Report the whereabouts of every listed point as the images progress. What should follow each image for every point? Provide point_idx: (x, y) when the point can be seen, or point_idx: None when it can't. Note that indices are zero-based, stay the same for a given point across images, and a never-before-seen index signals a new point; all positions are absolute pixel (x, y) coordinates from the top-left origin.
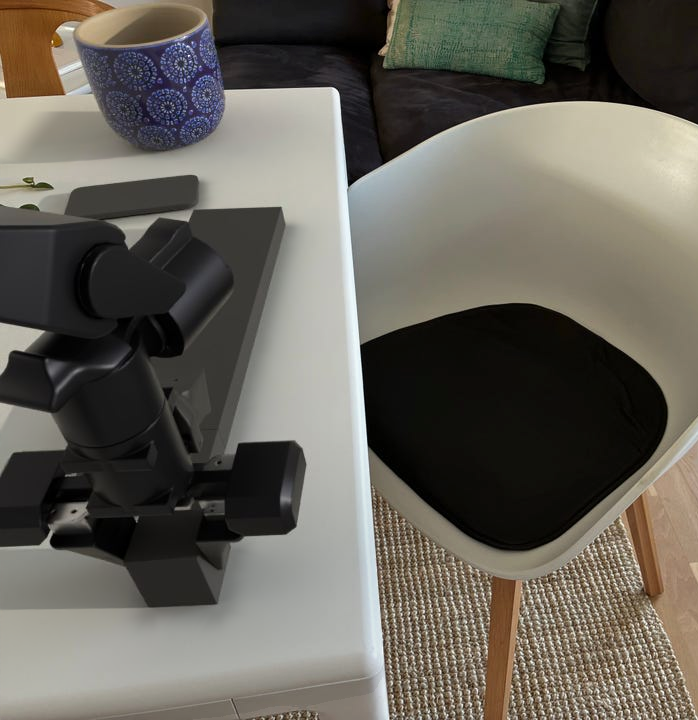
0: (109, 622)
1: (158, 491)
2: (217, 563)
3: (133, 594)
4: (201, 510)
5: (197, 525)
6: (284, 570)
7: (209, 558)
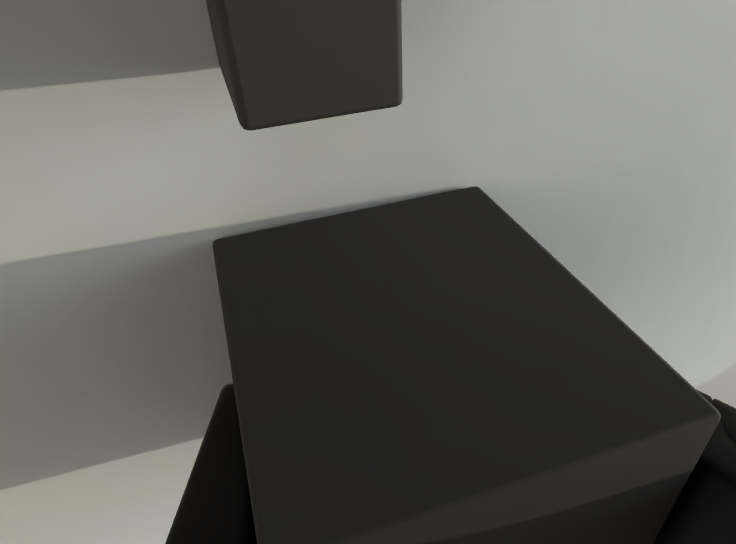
0: (162, 481)
1: None
2: None
3: (185, 406)
4: (656, 484)
5: (628, 538)
6: (640, 238)
7: None
